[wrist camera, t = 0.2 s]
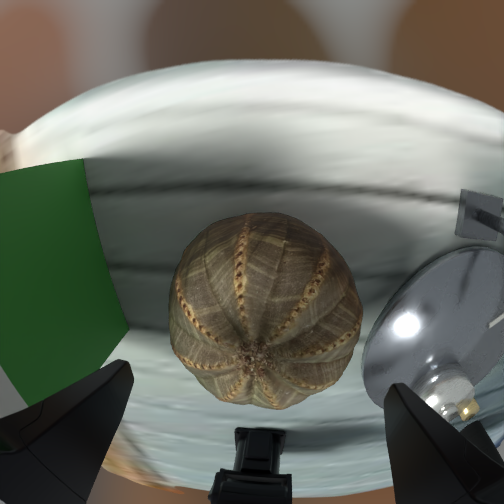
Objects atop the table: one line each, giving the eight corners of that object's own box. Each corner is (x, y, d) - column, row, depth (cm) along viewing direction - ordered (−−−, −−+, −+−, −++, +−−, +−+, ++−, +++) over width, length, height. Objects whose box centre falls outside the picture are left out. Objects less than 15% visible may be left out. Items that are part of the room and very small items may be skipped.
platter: (475, 392, 24) (489, 418, 19) (341, 413, 26) (346, 450, 21) (535, 251, 17) (564, 270, 12) (387, 239, 19) (416, 267, 14)
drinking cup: (453, 445, 31) (476, 523, 13) (449, 434, 30) (477, 522, 11) (486, 424, 29) (515, 499, 10) (485, 409, 28) (522, 494, 9)
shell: (347, 303, 23) (383, 414, 12) (228, 332, 25) (195, 440, 14) (316, 178, 20) (359, 212, 8) (180, 221, 22) (92, 290, 11)
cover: (446, 402, 23) (458, 427, 19) (398, 411, 24) (408, 440, 20) (471, 358, 21) (488, 384, 17) (421, 366, 21) (436, 397, 17)
